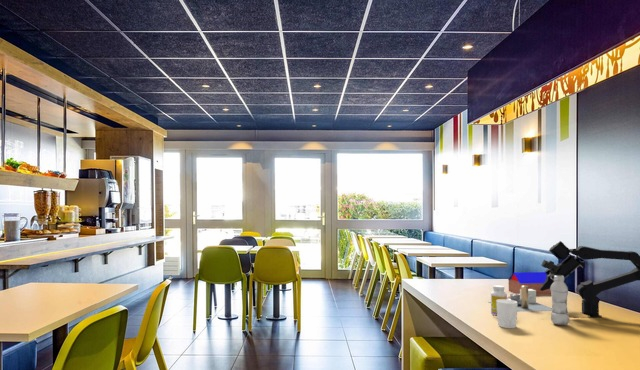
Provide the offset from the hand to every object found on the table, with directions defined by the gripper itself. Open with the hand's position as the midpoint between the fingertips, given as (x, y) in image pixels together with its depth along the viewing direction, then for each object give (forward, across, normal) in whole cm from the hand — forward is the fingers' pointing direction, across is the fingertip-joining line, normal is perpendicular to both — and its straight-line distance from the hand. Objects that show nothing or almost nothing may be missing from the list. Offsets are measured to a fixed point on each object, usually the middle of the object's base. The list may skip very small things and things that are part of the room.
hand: (540, 290), depth 198 cm
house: (+6, -48, +8) cm, 49 cm away
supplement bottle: (+21, +14, -6) cm, 26 cm away
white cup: (+19, +32, -5) cm, 38 cm away
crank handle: (+13, -5, -1) cm, 14 cm away
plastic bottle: (+5, +22, +10) cm, 25 cm away
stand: (+12, -4, +1) cm, 13 cm away
